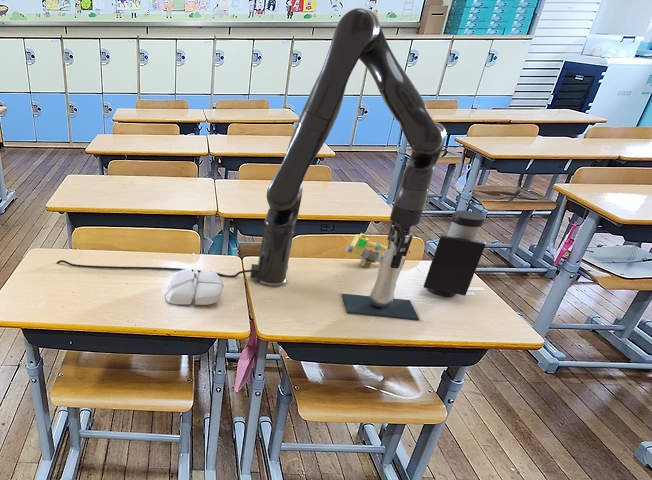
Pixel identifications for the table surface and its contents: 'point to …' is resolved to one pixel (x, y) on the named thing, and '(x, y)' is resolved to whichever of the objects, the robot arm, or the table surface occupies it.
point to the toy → (365, 250)
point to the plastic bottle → (385, 279)
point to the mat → (364, 307)
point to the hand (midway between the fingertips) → (391, 262)
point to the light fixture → (456, 256)
